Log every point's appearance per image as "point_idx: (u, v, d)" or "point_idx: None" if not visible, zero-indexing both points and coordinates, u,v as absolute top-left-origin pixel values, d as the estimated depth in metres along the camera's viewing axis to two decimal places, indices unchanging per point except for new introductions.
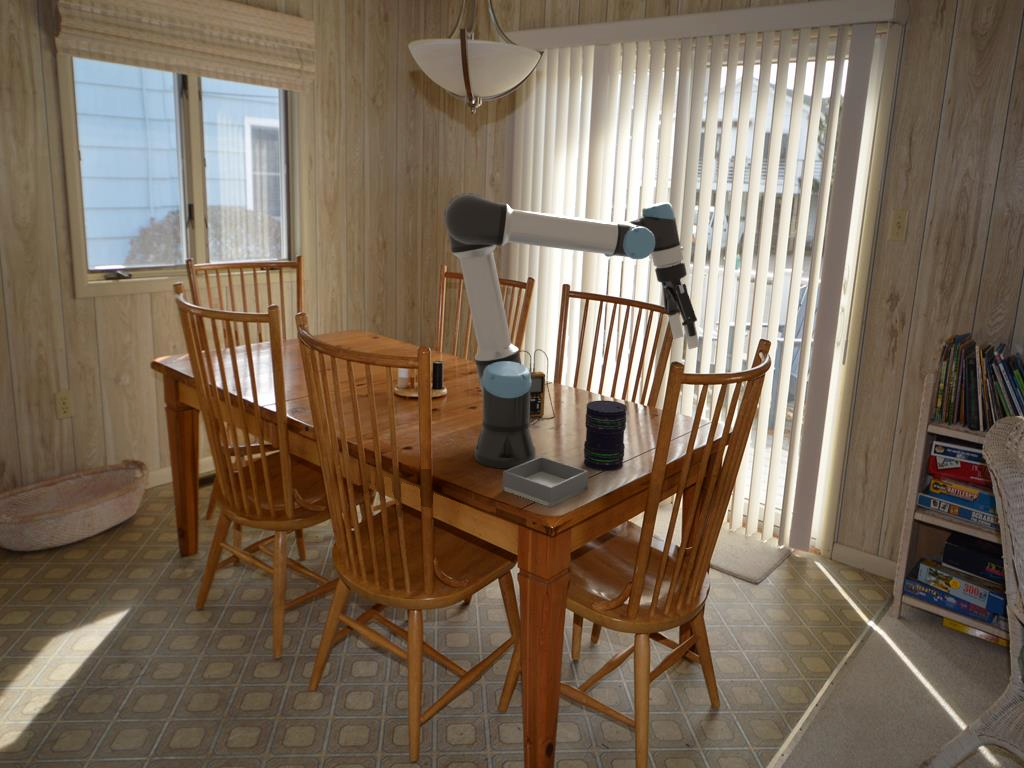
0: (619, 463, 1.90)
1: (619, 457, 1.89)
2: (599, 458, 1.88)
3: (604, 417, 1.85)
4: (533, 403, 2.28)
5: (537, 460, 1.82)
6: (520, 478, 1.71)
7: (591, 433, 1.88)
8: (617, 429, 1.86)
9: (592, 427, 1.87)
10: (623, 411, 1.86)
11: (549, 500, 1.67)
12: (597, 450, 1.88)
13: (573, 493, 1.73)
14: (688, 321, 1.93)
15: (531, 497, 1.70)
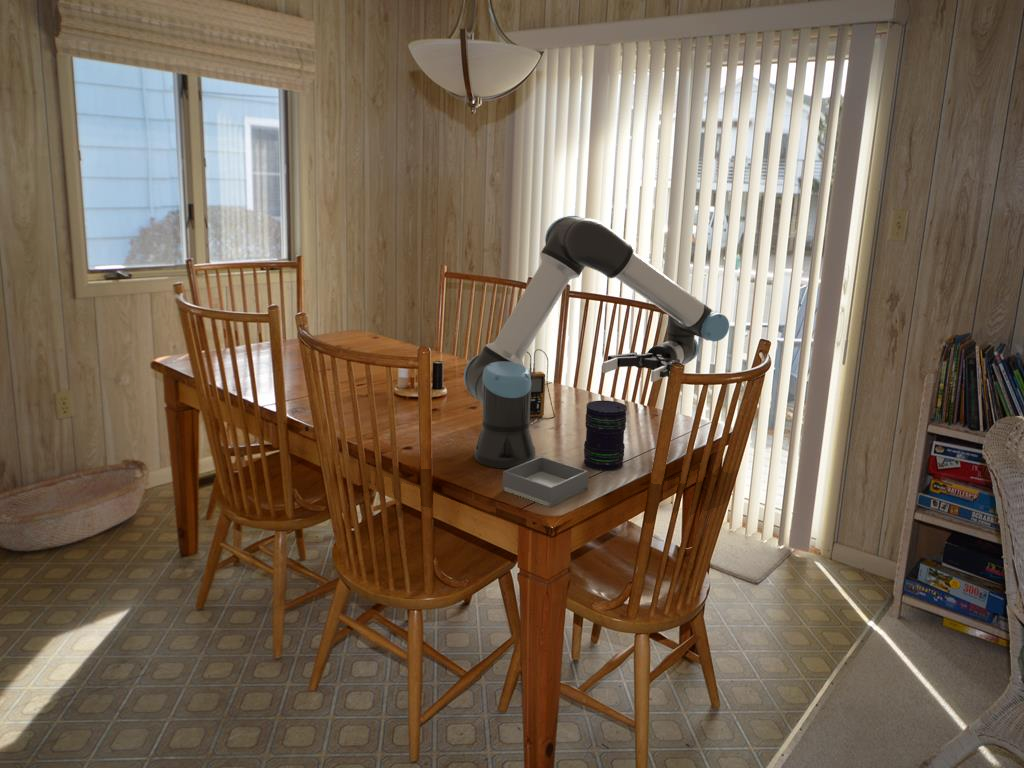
0: (619, 463, 1.90)
1: (619, 457, 1.89)
2: (599, 458, 1.88)
3: (604, 417, 1.85)
4: (533, 403, 2.28)
5: (537, 460, 1.82)
6: (520, 478, 1.71)
7: (591, 433, 1.88)
8: (617, 429, 1.86)
9: (592, 427, 1.87)
10: (623, 411, 1.86)
11: (549, 500, 1.67)
12: (597, 450, 1.88)
13: (573, 493, 1.73)
14: None
15: (531, 497, 1.70)
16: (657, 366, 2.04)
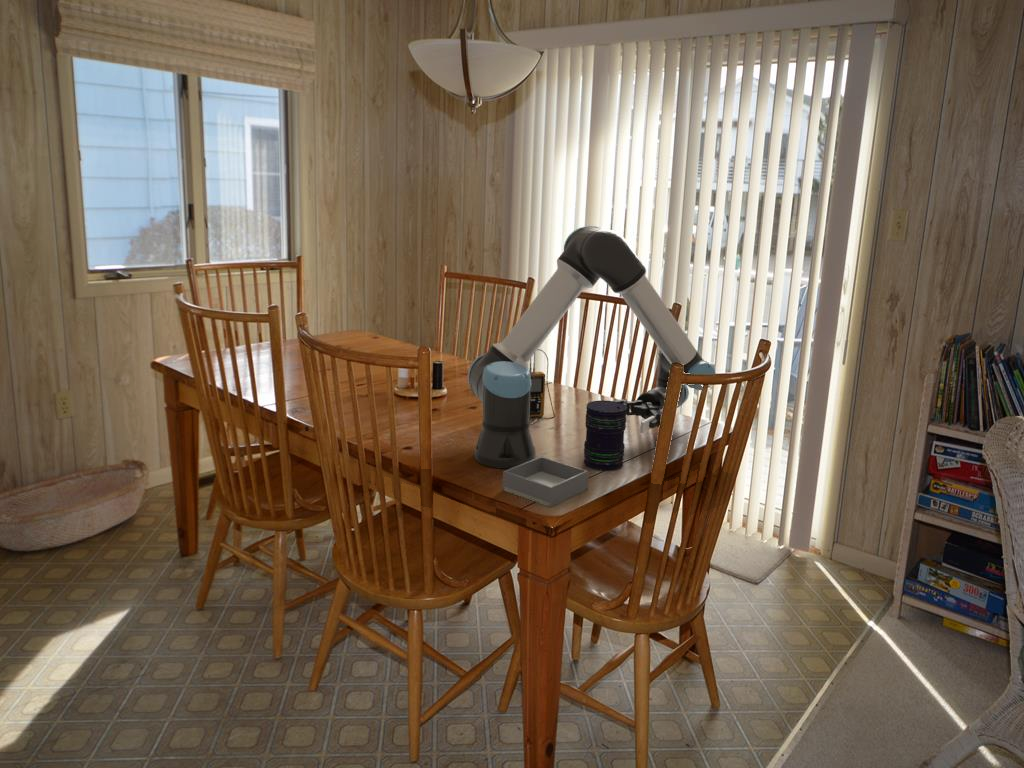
0: (619, 463, 1.90)
1: (619, 457, 1.89)
2: (599, 458, 1.88)
3: (604, 417, 1.85)
4: (533, 403, 2.28)
5: (537, 460, 1.82)
6: (520, 478, 1.71)
7: (591, 433, 1.88)
8: (617, 429, 1.86)
9: (592, 427, 1.87)
10: (623, 411, 1.86)
11: (549, 500, 1.67)
12: (597, 450, 1.88)
13: (573, 493, 1.73)
14: None
15: (531, 497, 1.70)
16: (647, 414, 2.02)
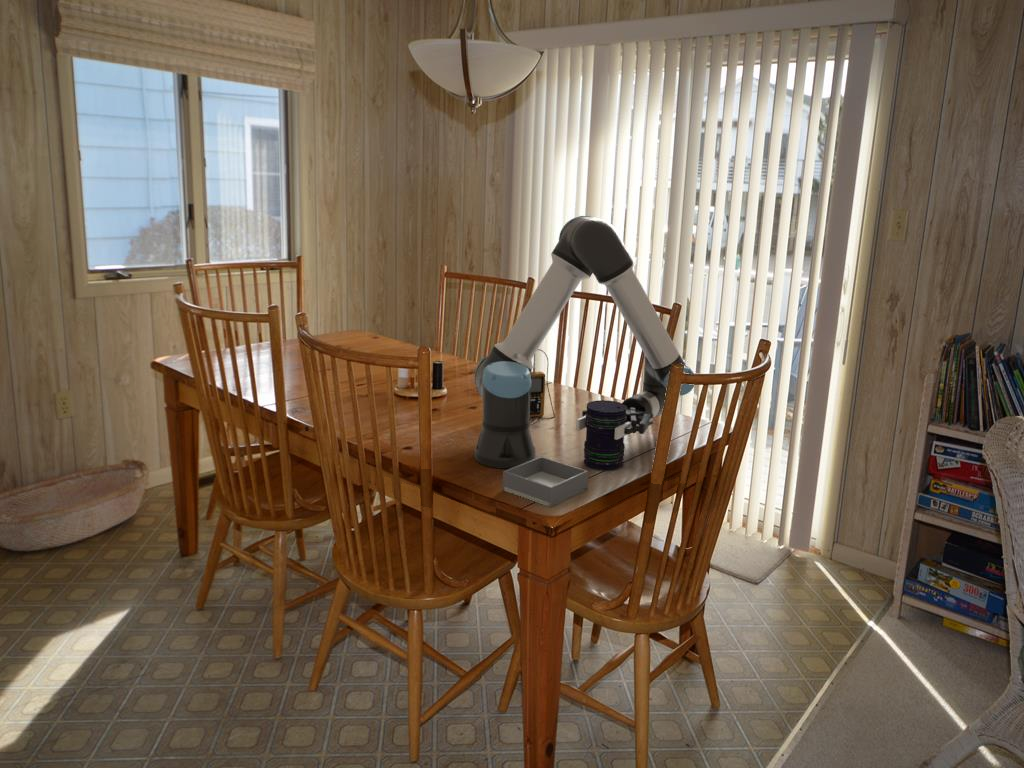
0: (619, 463, 1.90)
1: (619, 457, 1.89)
2: (599, 458, 1.88)
3: (604, 417, 1.85)
4: (533, 403, 2.28)
5: (537, 460, 1.82)
6: (520, 478, 1.71)
7: (591, 433, 1.88)
8: None
9: (592, 427, 1.87)
10: (623, 411, 1.86)
11: (549, 500, 1.67)
12: (597, 449, 1.88)
13: (573, 493, 1.73)
14: (644, 425, 1.88)
15: (531, 497, 1.70)
16: (629, 420, 1.97)
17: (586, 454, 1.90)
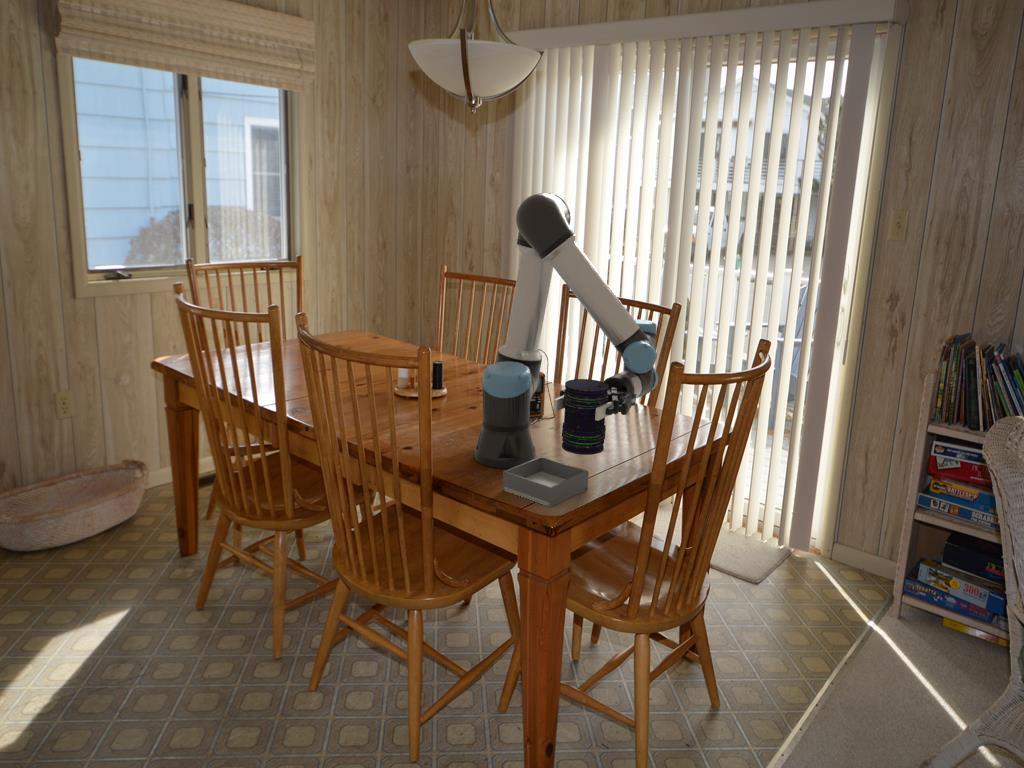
0: (600, 446, 1.76)
1: (600, 440, 1.75)
2: (578, 441, 1.73)
3: (584, 396, 1.71)
4: (533, 403, 2.28)
5: (537, 460, 1.82)
6: (520, 478, 1.71)
7: (569, 414, 1.74)
8: None
9: (571, 407, 1.73)
10: (605, 390, 1.72)
11: (549, 500, 1.67)
12: (576, 432, 1.73)
13: (573, 493, 1.73)
14: (626, 405, 1.74)
15: (531, 497, 1.70)
16: (610, 400, 1.83)
17: (564, 437, 1.76)
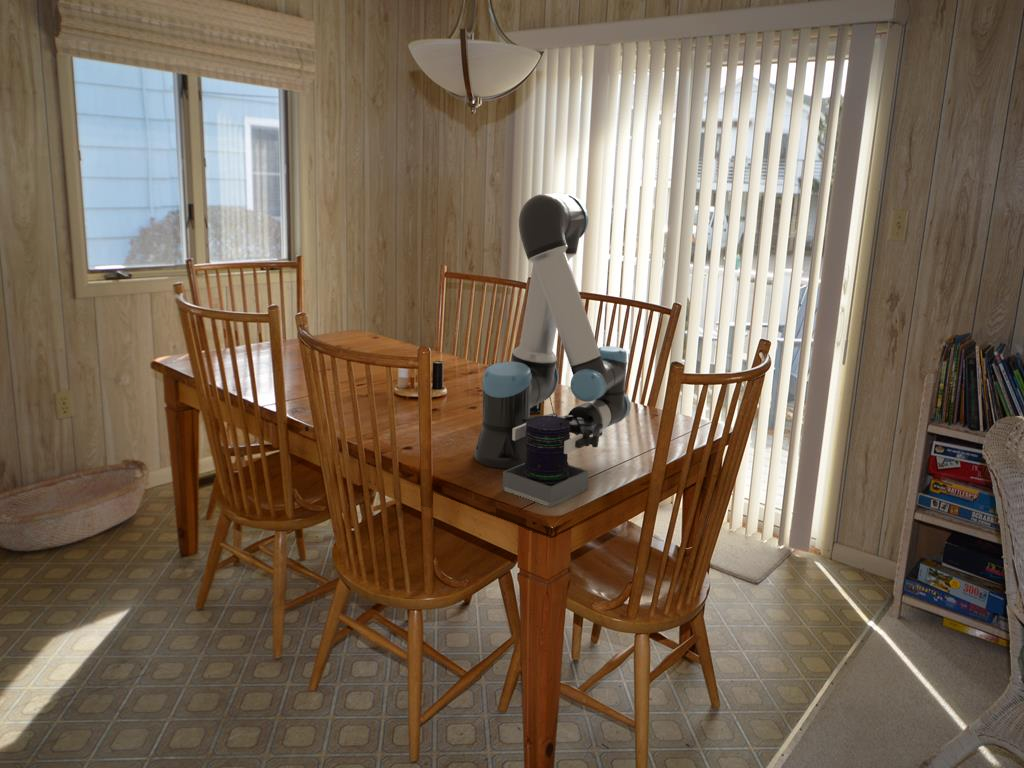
0: None
1: (562, 479, 1.72)
2: (539, 480, 1.70)
3: (544, 435, 1.68)
4: None
5: None
6: (520, 478, 1.71)
7: (530, 452, 1.71)
8: (559, 448, 1.69)
9: (532, 446, 1.70)
10: (565, 428, 1.69)
11: (549, 500, 1.67)
12: (537, 471, 1.70)
13: (573, 493, 1.73)
14: (597, 437, 1.71)
15: (531, 497, 1.70)
16: (577, 431, 1.79)
17: (526, 475, 1.73)
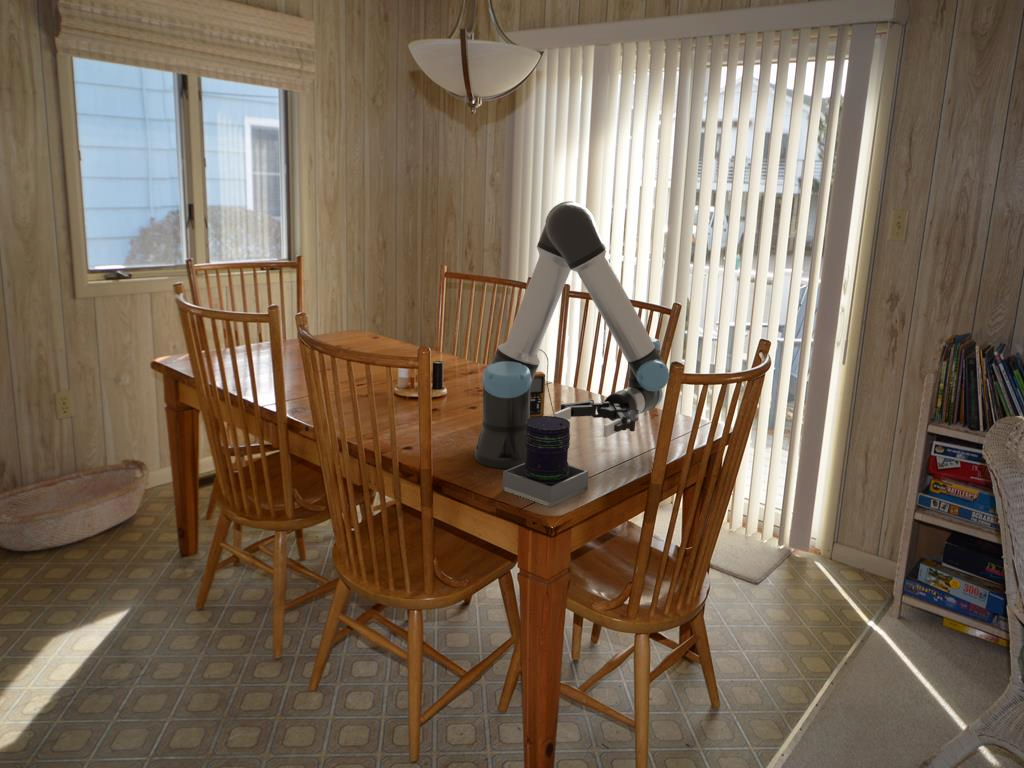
0: None
1: (562, 479, 1.72)
2: (539, 480, 1.70)
3: (544, 435, 1.68)
4: (533, 403, 2.28)
5: None
6: (520, 478, 1.71)
7: (530, 452, 1.71)
8: (559, 448, 1.69)
9: (532, 446, 1.70)
10: (565, 428, 1.69)
11: (549, 500, 1.67)
12: (537, 471, 1.70)
13: (573, 493, 1.73)
14: (634, 422, 1.80)
15: (531, 497, 1.70)
16: (614, 417, 1.88)
17: (526, 475, 1.73)
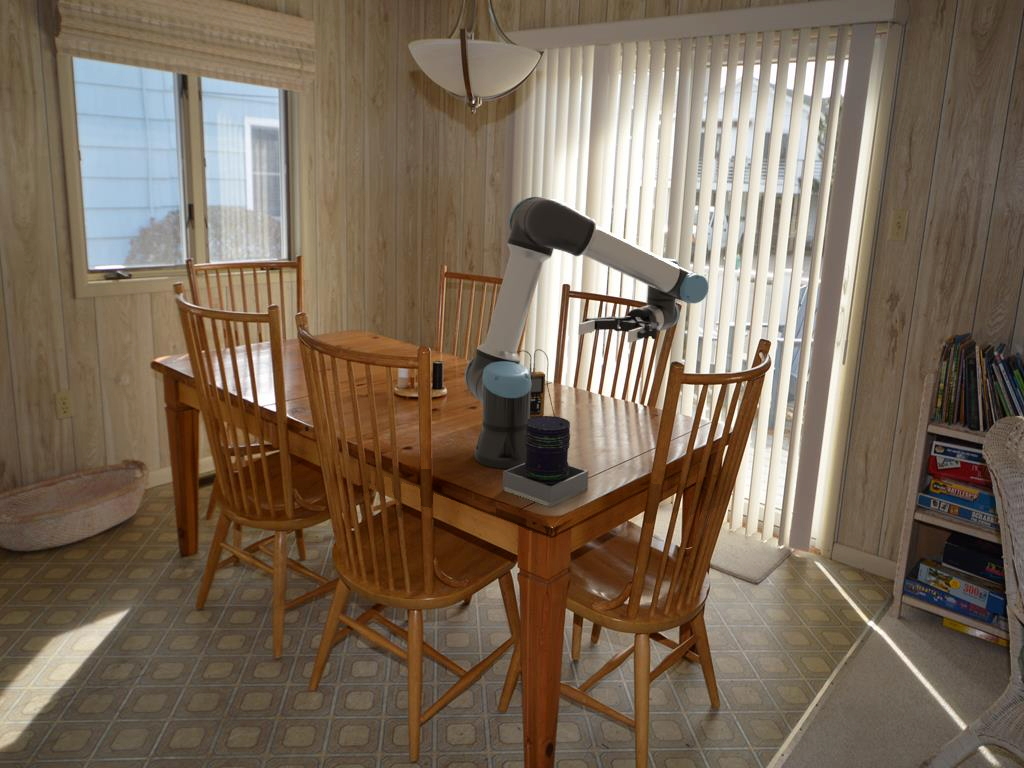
0: None
1: (562, 479, 1.72)
2: (539, 480, 1.70)
3: (544, 435, 1.68)
4: (533, 403, 2.28)
5: None
6: (520, 478, 1.71)
7: (530, 452, 1.71)
8: (559, 448, 1.69)
9: (532, 446, 1.70)
10: (565, 428, 1.69)
11: (549, 500, 1.67)
12: (537, 471, 1.70)
13: (573, 493, 1.73)
14: (656, 330, 1.89)
15: (531, 497, 1.70)
16: (635, 329, 1.98)
17: (526, 475, 1.73)
